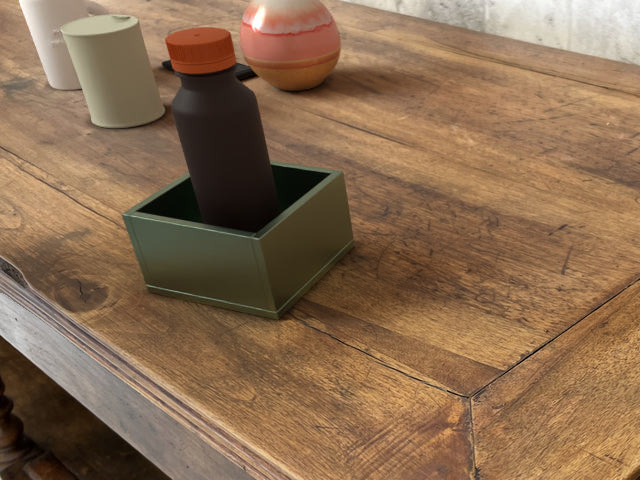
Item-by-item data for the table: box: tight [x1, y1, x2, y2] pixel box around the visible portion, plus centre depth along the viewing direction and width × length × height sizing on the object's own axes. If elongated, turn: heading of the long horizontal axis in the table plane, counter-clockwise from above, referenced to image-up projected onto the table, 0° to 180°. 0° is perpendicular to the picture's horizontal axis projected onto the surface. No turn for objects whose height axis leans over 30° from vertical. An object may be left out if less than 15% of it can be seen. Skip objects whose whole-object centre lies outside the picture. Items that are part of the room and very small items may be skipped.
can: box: [61, 13, 166, 129], centre depth 102 cm, size 9×9×12 cm
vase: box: [239, 0, 342, 92], centre depth 110 cm, size 14×14×18 cm
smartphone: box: [161, 59, 257, 81], centre depth 120 cm, size 7×1×15 cm
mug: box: [18, 0, 113, 91], centre depth 115 cm, size 8×12×12 cm
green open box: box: [121, 159, 356, 321], centre depth 72 cm, size 14×14×8 cm
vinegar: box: [164, 26, 281, 233], centre depth 68 cm, size 7×7×20 cm
